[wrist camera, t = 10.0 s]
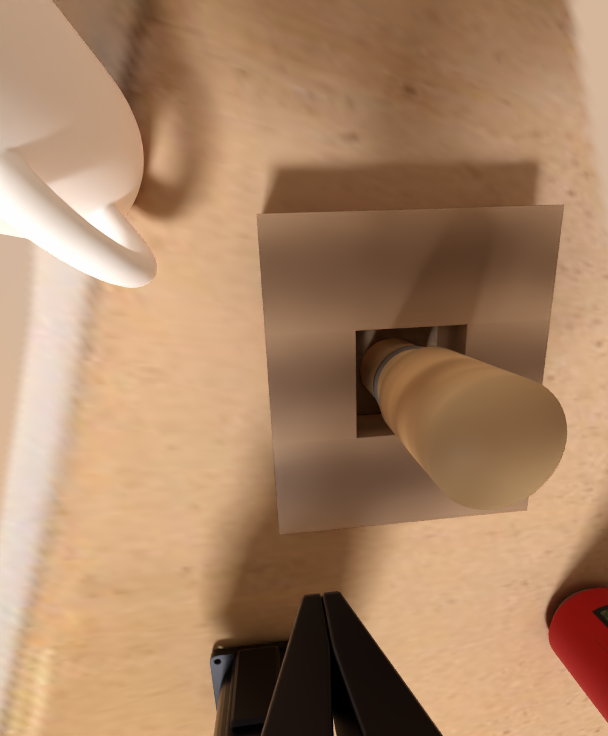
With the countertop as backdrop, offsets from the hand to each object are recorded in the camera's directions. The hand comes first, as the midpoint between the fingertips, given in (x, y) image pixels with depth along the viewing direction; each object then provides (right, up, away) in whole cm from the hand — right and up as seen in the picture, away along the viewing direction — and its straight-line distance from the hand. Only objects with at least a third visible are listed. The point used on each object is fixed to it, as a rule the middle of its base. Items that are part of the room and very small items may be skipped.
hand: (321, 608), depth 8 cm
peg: (+5, +5, +13) cm, 14 cm away
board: (+5, +5, +13) cm, 14 cm away
